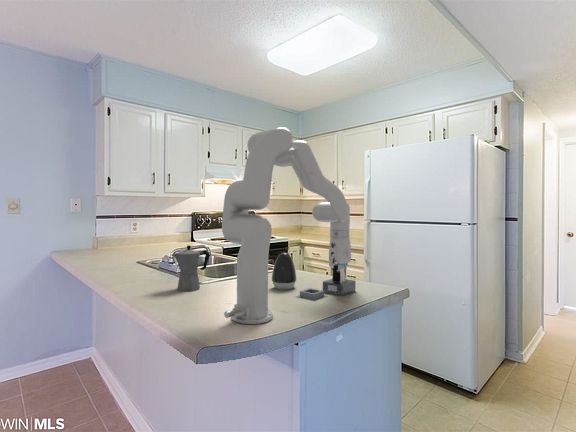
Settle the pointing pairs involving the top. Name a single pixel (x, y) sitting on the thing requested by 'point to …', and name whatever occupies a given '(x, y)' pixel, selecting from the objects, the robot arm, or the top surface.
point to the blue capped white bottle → (341, 273)
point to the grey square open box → (312, 294)
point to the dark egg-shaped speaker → (284, 272)
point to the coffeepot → (189, 268)
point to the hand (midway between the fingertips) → (339, 280)
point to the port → (339, 287)
